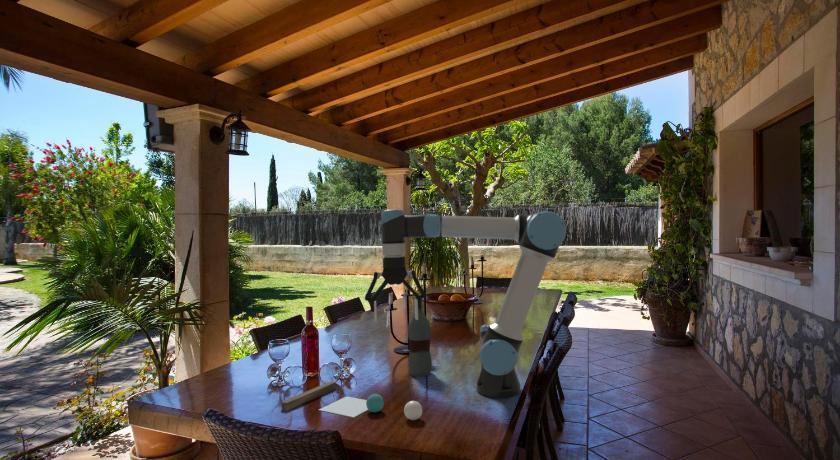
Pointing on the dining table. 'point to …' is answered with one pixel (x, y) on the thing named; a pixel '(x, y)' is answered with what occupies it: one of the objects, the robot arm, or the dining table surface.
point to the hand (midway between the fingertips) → (396, 320)
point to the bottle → (419, 345)
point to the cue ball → (413, 410)
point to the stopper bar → (308, 395)
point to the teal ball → (374, 403)
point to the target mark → (347, 407)
